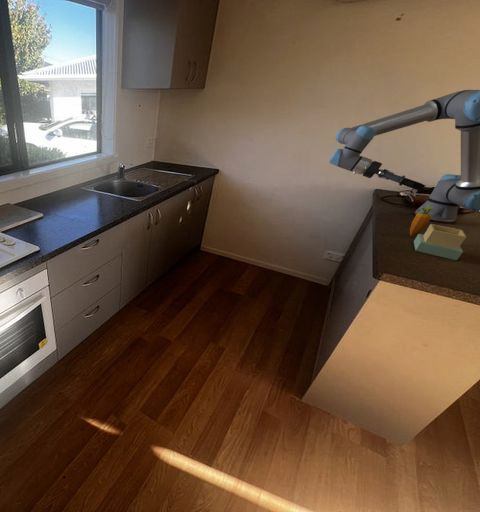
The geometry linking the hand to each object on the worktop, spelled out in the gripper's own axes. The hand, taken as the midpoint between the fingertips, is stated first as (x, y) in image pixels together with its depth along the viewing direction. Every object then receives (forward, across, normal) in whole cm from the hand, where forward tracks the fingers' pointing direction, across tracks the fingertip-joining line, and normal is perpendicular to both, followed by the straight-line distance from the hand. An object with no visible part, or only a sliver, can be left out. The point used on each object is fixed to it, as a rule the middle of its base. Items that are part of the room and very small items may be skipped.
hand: (421, 187), depth 129 cm
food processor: (+18, +12, -20) cm, 29 cm away
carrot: (+10, 0, -20) cm, 23 cm away
